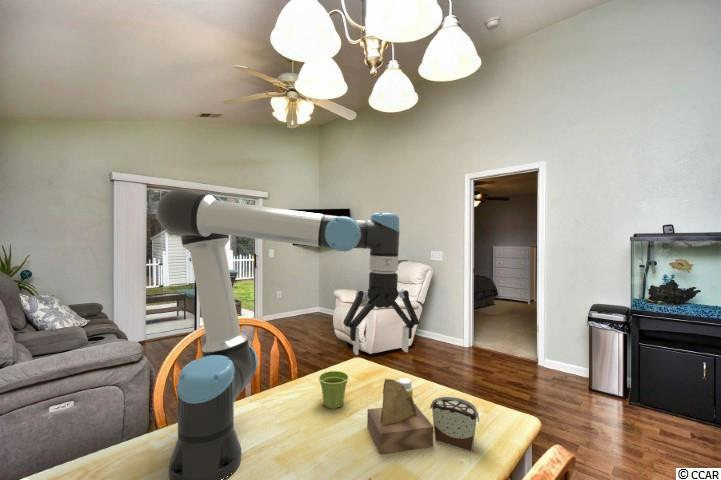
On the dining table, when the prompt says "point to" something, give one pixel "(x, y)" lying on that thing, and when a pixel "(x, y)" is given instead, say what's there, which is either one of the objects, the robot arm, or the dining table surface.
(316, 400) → the dining table surface
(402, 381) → the supplement bottle
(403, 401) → the rock
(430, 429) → the walnut block
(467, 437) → the food container
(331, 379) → the plant pot
